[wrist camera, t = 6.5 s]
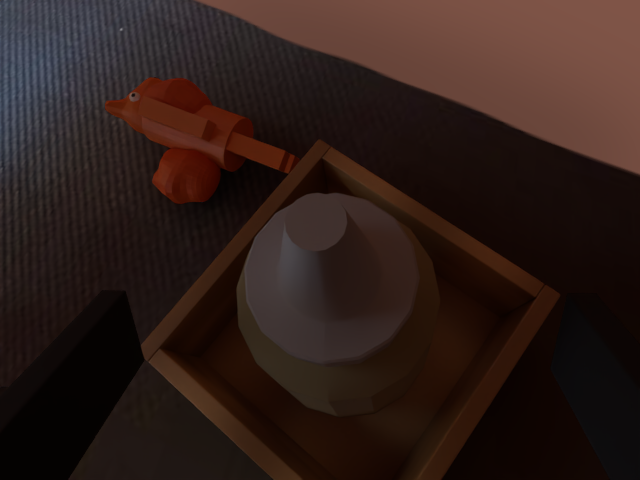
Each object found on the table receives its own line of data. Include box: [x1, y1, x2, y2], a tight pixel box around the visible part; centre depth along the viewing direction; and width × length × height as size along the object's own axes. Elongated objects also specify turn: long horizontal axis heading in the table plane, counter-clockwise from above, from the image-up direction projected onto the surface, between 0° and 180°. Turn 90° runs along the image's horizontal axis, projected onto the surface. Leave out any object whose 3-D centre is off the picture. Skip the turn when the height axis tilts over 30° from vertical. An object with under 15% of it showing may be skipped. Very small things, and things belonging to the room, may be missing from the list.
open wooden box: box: [141, 139, 560, 480], centre depth 23 cm, size 14×14×6 cm
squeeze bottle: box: [236, 193, 440, 418], centre depth 17 cm, size 8×8×18 cm
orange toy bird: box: [105, 77, 300, 204], centre depth 28 cm, size 5×8×12 cm
